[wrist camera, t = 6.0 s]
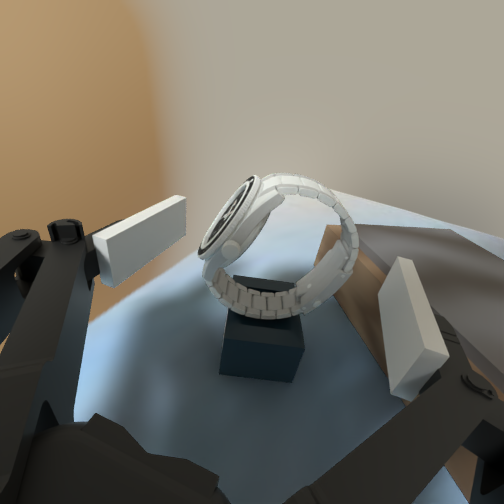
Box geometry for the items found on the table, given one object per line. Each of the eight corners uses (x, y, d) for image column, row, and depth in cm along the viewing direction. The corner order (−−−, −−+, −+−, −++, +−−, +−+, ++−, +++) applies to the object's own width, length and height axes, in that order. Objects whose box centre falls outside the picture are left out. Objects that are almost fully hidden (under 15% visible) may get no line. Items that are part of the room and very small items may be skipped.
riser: (705, 490, 14) (838, 443, 11) (503, 556, 10) (621, 513, 8) (425, 266, 30) (449, 225, 27) (313, 264, 27) (329, 217, 24)
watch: (203, 304, 20) (213, 153, 14) (307, 317, 20) (357, 176, 14) (184, 371, 15) (188, 184, 9) (321, 387, 15) (405, 217, 10)
